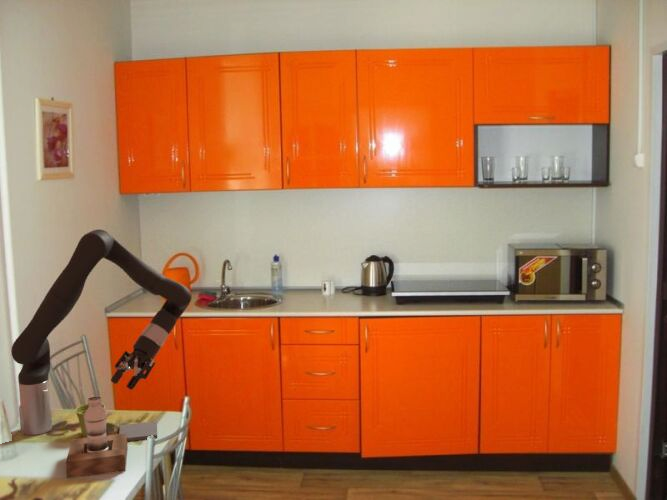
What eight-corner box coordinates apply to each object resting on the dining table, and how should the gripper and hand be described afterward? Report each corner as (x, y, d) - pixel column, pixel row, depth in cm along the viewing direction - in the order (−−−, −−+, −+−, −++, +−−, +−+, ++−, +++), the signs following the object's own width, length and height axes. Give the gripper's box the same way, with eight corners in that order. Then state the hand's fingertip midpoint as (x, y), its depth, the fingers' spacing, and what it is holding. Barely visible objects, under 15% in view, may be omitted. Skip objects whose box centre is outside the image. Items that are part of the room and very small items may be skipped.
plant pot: (100, 439, 219) (99, 413, 218) (72, 439, 219) (70, 413, 218) (110, 427, 228) (109, 403, 227) (83, 427, 229) (81, 403, 227)
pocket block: (66, 478, 192) (65, 461, 191) (73, 454, 207) (72, 439, 207) (125, 471, 196) (124, 454, 195) (127, 448, 211) (126, 433, 211)
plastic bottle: (103, 468, 198) (99, 403, 195) (82, 466, 199) (78, 401, 197) (114, 458, 204) (110, 395, 202) (94, 457, 206) (90, 394, 203)
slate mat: (118, 442, 216) (118, 439, 216) (120, 427, 228) (120, 425, 228) (157, 437, 219) (156, 434, 219) (157, 423, 231) (156, 421, 231)
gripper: (130, 331, 215) (99, 374, 208) (157, 338, 206) (126, 384, 199) (145, 343, 220) (116, 386, 213) (172, 351, 211) (142, 396, 204)
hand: (121, 385), depth 206 cm, fingers open, 8 cm apart
